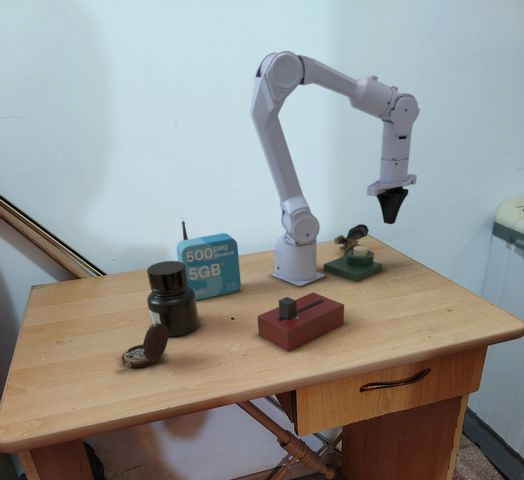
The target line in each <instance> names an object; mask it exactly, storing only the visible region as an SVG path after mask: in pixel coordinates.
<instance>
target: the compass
mask: <svg viewBox="0 0 524 480" xmlns="http://www.w3.org/2000/svg"><path fill="white" fill-rule="evenodd" d="M168 341H169V336H168V331H167V328H166V326H165V325H163V324H160V323H156V324H152V323H151V325H150V327H149V328H148V330H147V331H146V334H145V336H144V339H143V344H138V345H137V344H136V345H134V346H131V347H130V348H128V349H126V351H125V352H123V354H122V355H121V360H122V363H123V364H121V365H120V366H119V369H120V370H121V371H127V370H129V369H131V368H143V367H147V366H149V365H152V364H153V363H154V362H156V361H157V360H158V359H159V358H161V356H162V355H163V354H164V353H165V350H166V348H167V345H168V343H169V342H168ZM123 366H126V367H128V368H122V367H123Z"/></svg>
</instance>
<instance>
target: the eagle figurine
mask: <svg viewBox="0 0 524 480" xmlns="http://www.w3.org/2000/svg"><path fill="white" fill-rule="evenodd" d="M369 231H370V230H369V227H368V226H367V225H366V224H364V223H360V224H359V223H358V224H357V225H356V226H354V227H351V228H349V230H348V232H347V235H346V237H345V236H344V235H343V234H339V235H337V236H336V237H334V239H333V242H334V244H335V245H343V246H340V249H342V250H344V253H343V256H346V255H347V253H348V252H349V251H351V249H352V250H354V247H356V246H361V244H358V243H359V242H360V241H359V240H361V239H363V238H366V237H367V236H368V234H369Z"/></svg>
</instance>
